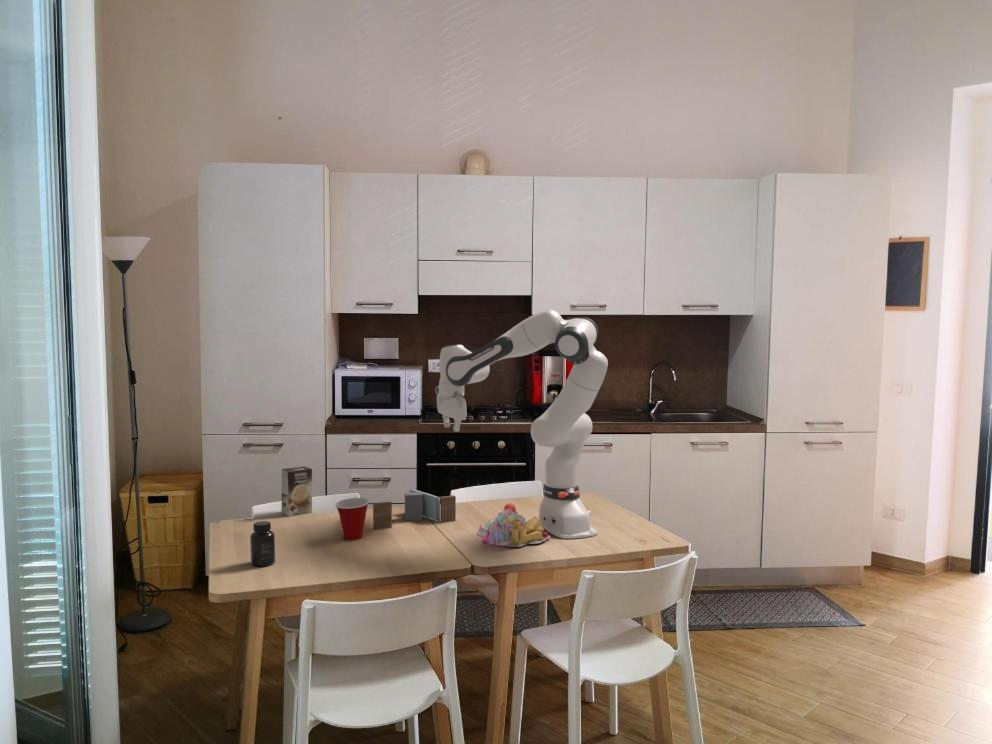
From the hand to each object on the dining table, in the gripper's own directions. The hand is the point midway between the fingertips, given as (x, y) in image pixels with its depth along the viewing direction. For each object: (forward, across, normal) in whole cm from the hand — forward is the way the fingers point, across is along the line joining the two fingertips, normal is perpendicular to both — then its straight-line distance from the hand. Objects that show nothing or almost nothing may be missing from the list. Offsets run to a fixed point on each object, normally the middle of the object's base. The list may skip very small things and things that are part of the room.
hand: (451, 429), depth 284 cm
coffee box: (+31, +24, +50) cm, 64 cm away
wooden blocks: (+31, -6, +15) cm, 35 cm away
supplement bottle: (+31, -28, +69) cm, 81 cm away
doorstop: (+31, +1, +14) cm, 34 cm away
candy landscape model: (+32, -31, -9) cm, 45 cm away
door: (+31, +1, +9) cm, 32 cm away
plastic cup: (+31, -13, +39) cm, 52 cm away
